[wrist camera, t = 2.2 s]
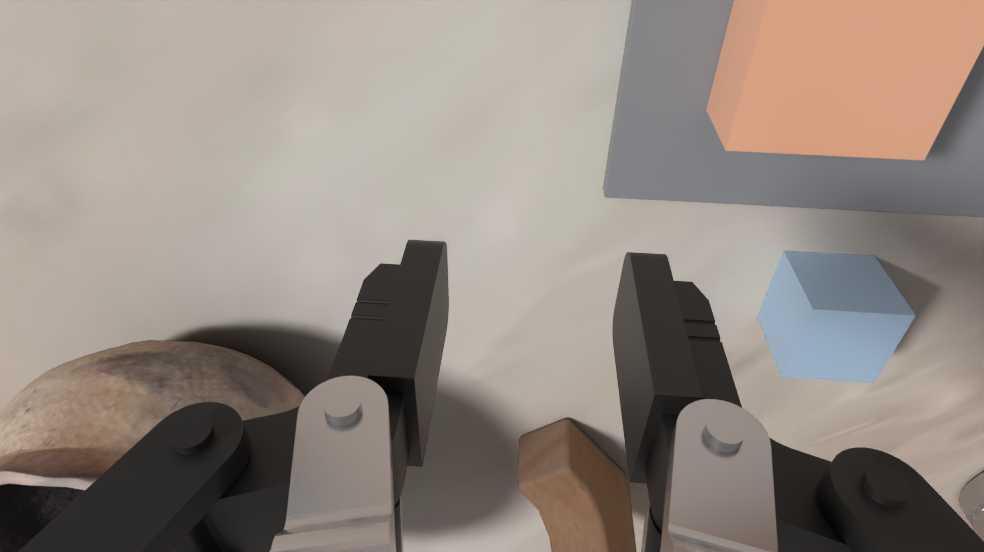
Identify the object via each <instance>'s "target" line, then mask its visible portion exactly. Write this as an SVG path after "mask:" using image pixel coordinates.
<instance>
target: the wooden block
mask: <svg viewBox="0 0 984 552" xmlns="http://www.w3.org/2000/svg"><path fill="white" fill-rule="evenodd" d="M518 487H519V489H520V490H521V492H522V493H523V494H524V495H525V496H526V497H527V498H528V499H529V500H530V502H531V503H532V504H533V505H534V506H535V507H536V508H537V509H538V510H539V512H540V515H541V517H542V520H543V522H544V525H545V527H546V530H547V532H548V535H549V537H550V544H551V551H552V552H636V543H635V534H634V526H633V517H632V509H631V500H630V492H629V483H628V477H627V476H626V474H625V473H624V472H623V471H622V470H621V469H620V468H618V467H617V466H616V465H615V464H614V463H613V462H612V461H611V460H610V459H609V458H608V457H607V456H606V455H605V454H604V453H603V452H602V451H601V450H600V449H599V448H598V447H597V446H596V445H595V444H594V443H593V442H592V441H591V440H590V439H589V438H588V437H587V436H586V435H585V434H584V433H583V432H582V431H581V430H580V429H579V428H578V427H577V426H576V425H575V424H574V423H573V422H571V421H570V420H569V419H562V420H559V421H557V422H554V423H552V424H549V425H547V426H544V427H542V428H539V429H537V430H534V431H532V432H529V433H527V434H524V435H522V436H521V437H520V439H519V461H518Z"/></svg>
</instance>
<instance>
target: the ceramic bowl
mask: <svg viewBox="0 0 984 552" xmlns="http://www.w3.org/2000/svg"><path fill="white" fill-rule="evenodd" d="M304 398H305V395H304V394H303V393H302V392H301V391H300V390H299V389H298V388H297V387H296V386H295V385H294V384H293V383H292V382H291V381H289V380H288V379H287V378H285V377H284V376H283V375H281V374H280V373H279V372H277V371H276V370H275V369H273V368H272V367H271V366H269V365H267V364H265V363H263V362H261V361H259V360H257V359H255V358H253V357H251V356H249V355H246V354H243V353H240V352H238V351H235V350H233V349H229V348H225V347H221V346H216V345H211V344H205V343H199V342H185V341H183V342H180V341H158V340H149V341H142V342H134V343H129V344H126V345H122V346H119V347H114V348H110V349H107V350H103V351H100V352H96V353H93V354H89V355H86V356H83V357H80V358H77V359H75V360H72V361H69V362H67V363H64V364H62V365H59V366H57V367H55V368H53V369H51V370H48V371H47V372H45V373H44V374H42V375H41V376H40V377H38V378H37V379H35V380H34V381H33V382H31V383H30V384H29V385H27V386H26V387H25V388H24V389H23V390H21V391H20V392H19V393H18V394H17V395H16V396H15V397H14V398H13V399H12V400H11V401H10V402H9V403H8V404H7V405H6V406H5V408H4V409H3V410H2V411H1V412H0V552H18V551H19V550H20V549H21V548H23V547H24V546H25V545H26V544H27V543H28V542H29V541H30V540H31V539H32V538H33V537H35V536H36V535H37V534H38V533H39V532H40V531H41V530H42V529H43V528H44V527H45V526H47V525H48V524H49V523H50V522H51V521H52V520H53V519H54V518H55V517H56V516H57V515H59V514H60V513H61V512H62V511H63V510H64V509H65V508H66V507H67V506H68V505H70V504H71V503H72V502H73V501H74V500H75V499H76V498H77V497H78V496H79V495H80V494H82V493H83V492H84V491H85V490H86V489H87V488H88V487H89V486H90V485H91V484H92V483H94V482H95V481H96V480H97V479H98V478H99V477H100V476H101V475H102V474H103V473H105V472H106V471H107V470H108V469H109V468H110V467H111V466H112V465H113V464H114V463H115V462H117V461H118V460H119V459H120V458H121V457H122V456H123V455H124V454H125V453H126V452H127V451H129V450H130V449H131V448H132V447H133V446H134V445H135V444H136V443H137V442H138V441H140V440H141V439H142V438H143V437H144V436H145V435H146V434H147V433H148V432H149V431H150V430H152V429H153V428H154V427H155V426H156V425H157V424H158V423H159V422H160V421H162V420H163V419H164V418H165V417H167V416H168V415H170V414H171V413H173V412H175V411H177V410H179V409H181V408H183V407H186V406H188V405H192V404H196V403H201V402H218V403H223V404H226V405H228V406H230V407H232V408H234V409H235V410H236V411H237V412H238V414H239V415H240V417H241V419H242V421H243V420H248V419H253V418H258V417H263V416H268V415H273V414H278V413H282V412H286V411H289V410H292V409H294V408H297V407H299V406H300V405H301V402H302V401H303V399H304ZM270 552H271V550H270Z"/></svg>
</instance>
